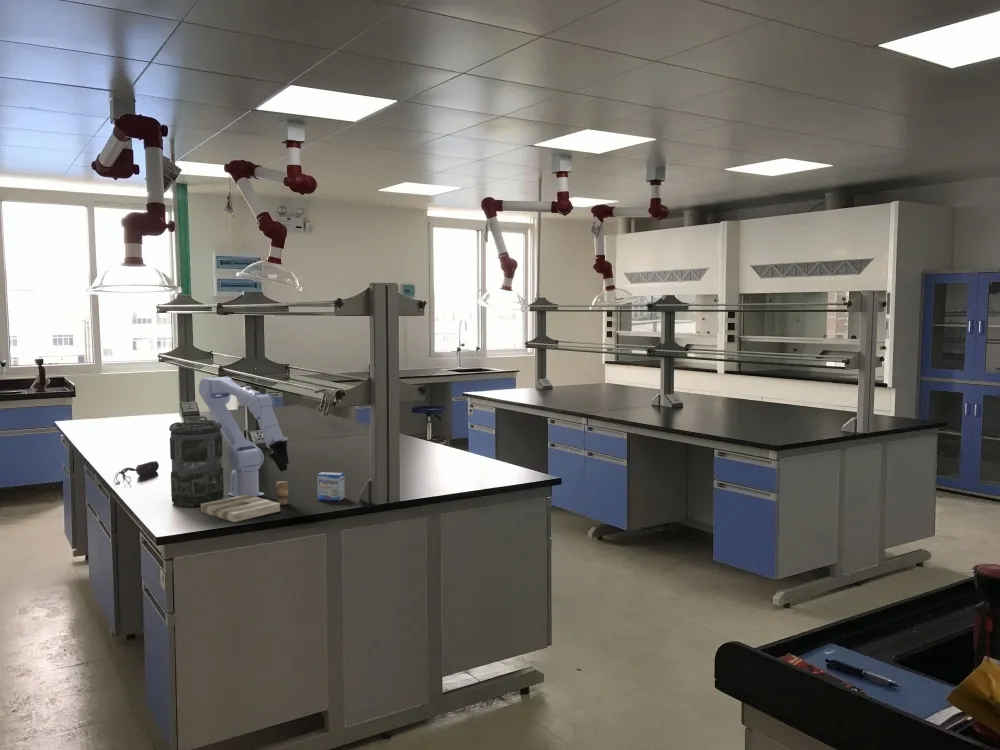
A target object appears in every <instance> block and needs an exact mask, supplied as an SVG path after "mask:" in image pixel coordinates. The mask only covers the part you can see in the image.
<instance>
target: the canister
mask: <svg viewBox="0 0 1000 750" xmlns="http://www.w3.org/2000/svg"><path fill="white" fill-rule="evenodd" d="M186 419H198V420H196V421H195V420H194V421H193V420H192V421H186ZM221 428H222V425H221V423H219V422H218V423H217V422H216V421H215V420H213V419H212V420H208V417H206V416H205V415H204V416H203V415H202V416H201V415H200V416H199V415H198V416H197V415H196V416H194V415H192V416H191V415H187V416H184V418H183V421H182V422H179V421H176V422H174V423H172V424H170V425H169V428H168V429H169V432H170V437H169V457H170V458H169V459H170V460H171V471H170V491H171V492H170V493H171V495H170V496H171V502H172V504H174V505H177V506H178V507H181V508H195V507H201V504H203V503H207V502H212V501H217V500H221V499H225V495H224V492H225V491H224V488H225V487H224V467H222V465H223V463H222V461H223V460H222V457H223V435H222V431H221Z"/></svg>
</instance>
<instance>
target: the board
mask: <svg viewBox="0 0 1000 750" xmlns="http://www.w3.org/2000/svg"><path fill="white" fill-rule="evenodd" d="M200 512H201V513H204V514H206V515H209V516H213V517H217V518H219V519H222V520H227V521H230V522H232V523H235V522H240V521H245V520H248V519H249V520H250V519H252V518H257V517H261V516H264V515H269V514H275V513H278V512H281V505H280V503H278V501H277V502H276V501H272V500H269V499H266V498H262V497H260V496H256V497H255V496H251V495H247V494H245V495H240V496H236V497H235V496H232V497H227V498H223V499H221V500H217V501H212V502H207V503H203V504H201V506H200Z"/></svg>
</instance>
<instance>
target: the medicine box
mask: <svg viewBox="0 0 1000 750" xmlns="http://www.w3.org/2000/svg"><path fill="white" fill-rule="evenodd" d="M345 495H346V494H345V472H333V471H332V472H328V471H321V472H319V473H317V500H318V501H336V502H340V501H342V500H343V499H345V497H346V496H345Z"/></svg>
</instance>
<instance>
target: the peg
mask: <svg viewBox="0 0 1000 750" xmlns="http://www.w3.org/2000/svg"><path fill="white" fill-rule="evenodd" d="M276 497H277V503H280V506H283V505H284V506H285V505H287V504H288V497H289V481H285V480H282V481H276Z"/></svg>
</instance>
